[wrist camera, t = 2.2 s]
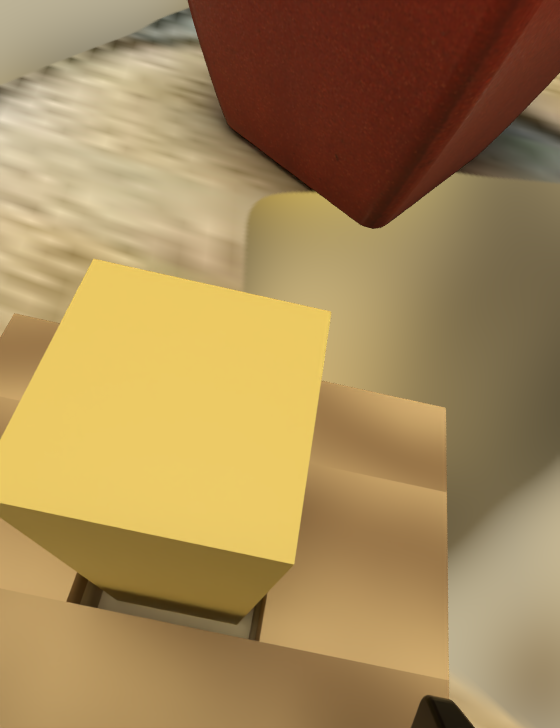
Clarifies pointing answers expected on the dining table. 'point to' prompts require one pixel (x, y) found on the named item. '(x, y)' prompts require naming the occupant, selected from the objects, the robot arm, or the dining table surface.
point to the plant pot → (376, 87)
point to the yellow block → (168, 440)
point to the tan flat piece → (271, 614)
